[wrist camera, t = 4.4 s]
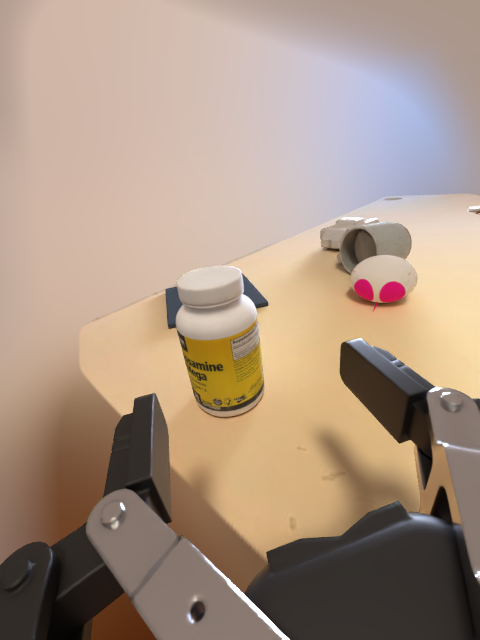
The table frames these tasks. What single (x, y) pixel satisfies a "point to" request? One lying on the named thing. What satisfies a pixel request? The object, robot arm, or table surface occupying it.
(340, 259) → the ceramic mug
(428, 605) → the robot arm
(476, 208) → the white bottle cap
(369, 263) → the stress ball
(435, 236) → the table surface
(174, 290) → the mat
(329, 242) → the bunny figurine
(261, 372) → the pill bottle
